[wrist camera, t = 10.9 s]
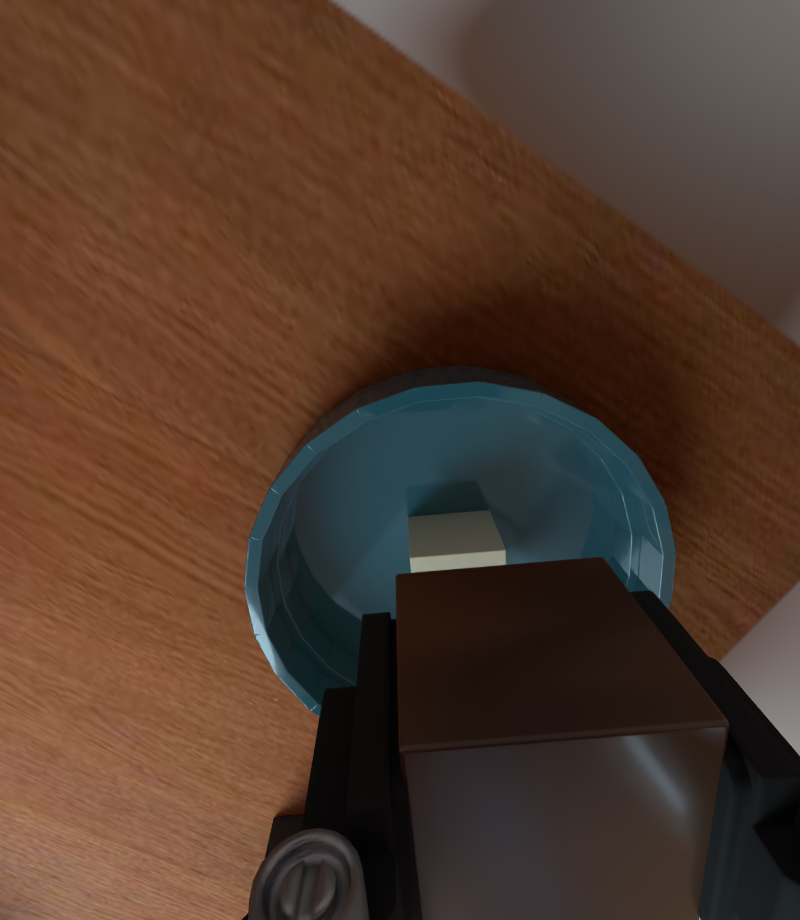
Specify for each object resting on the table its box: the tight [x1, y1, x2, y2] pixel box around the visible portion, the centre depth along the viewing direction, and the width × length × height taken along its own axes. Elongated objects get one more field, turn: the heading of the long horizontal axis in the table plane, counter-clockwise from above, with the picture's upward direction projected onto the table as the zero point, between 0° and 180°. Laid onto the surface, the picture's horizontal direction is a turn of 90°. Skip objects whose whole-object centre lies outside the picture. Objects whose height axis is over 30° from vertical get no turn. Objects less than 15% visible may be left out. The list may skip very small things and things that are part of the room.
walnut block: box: [395, 557, 729, 920], centre depth 9 cm, size 4×4×4 cm
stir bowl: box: [244, 365, 676, 717], centre depth 24 cm, size 18×18×4 cm
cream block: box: [408, 510, 506, 573], centre depth 24 cm, size 4×4×4 cm
